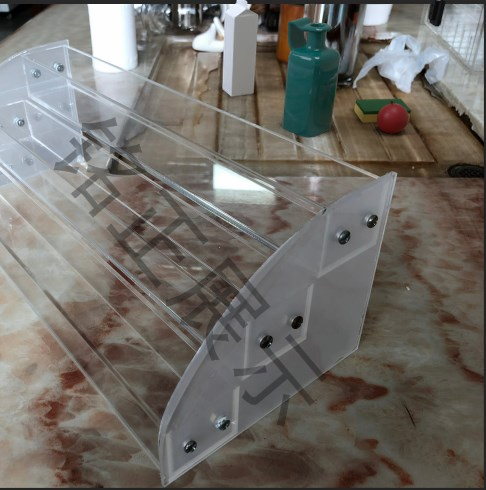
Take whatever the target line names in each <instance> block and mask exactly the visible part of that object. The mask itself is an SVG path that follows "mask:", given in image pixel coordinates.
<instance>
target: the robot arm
mask: <svg viewBox="0 0 486 490" xmlns="http://www.w3.org/2000/svg"><path fill="white" fill-rule="evenodd" d="M445 7H446V0H430V5H429V9H428V15H427V19H428V21H429V24H431V25H432V26H434V27H435V28H436V27H437V28H438V27H441V25H442V21H443V16H444V11H445Z"/></svg>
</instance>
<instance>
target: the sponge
mask: <svg viewBox="0 0 486 490" xmlns="http://www.w3.org/2000/svg"><path fill="white" fill-rule="evenodd" d="M391 100H393V103H395V104H400V105H402V106H403V107H404V108H405V109H406V110H407V112H408V123H409V121H410V118H411V112H412V109H411V108H410V107H409V106H408V105H407V104H406V103H405V102H404V100H403V99H402V98H374V99H373V98H371V99H367V98H365V99H355V103H354V112H355V114H356V116H357V118H358V119H359V120H360V121H361V123H363V124H364V123H366V124H367V123H377V115H378V113H379V111H380V110H381V109H382V108H383V107H384V106H386V105H388V104H391V102H390V101H391Z"/></svg>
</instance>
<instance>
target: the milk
mask: <svg viewBox="0 0 486 490" xmlns="http://www.w3.org/2000/svg"><path fill="white" fill-rule="evenodd" d="M223 22H224V24H223V57H222V58H223V59H222V88H221V89H222V90H223V91H224V92H225V93H227V95H229V96H230V97H238V96H245V95H253V94H254V93H255V79H256V61H257V46H258V28H259V14H257V13H256V12H254V11H252V10H250V9H249V8H248V1H247V0H236V2H235V4H233V5H232V6H231V7H230V8H228V9H227V10H225V11H224V21H223Z"/></svg>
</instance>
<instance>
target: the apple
mask: <svg viewBox="0 0 486 490" xmlns="http://www.w3.org/2000/svg"><path fill="white" fill-rule="evenodd" d="M390 102H391V104H388V105H386V106H384V107H383V108H382V109H381V110H380V111H379V113H378V115H377V122H376V124H377V127H378V128H379V130H380V131H382V132H383V133H385V134H389V135H390V134H391V135H393V134H394V135H395V134H397V133H400V132H402V131H403V130H404V129H405V128H406V127H407V125H408V123H409V122H408V112H407V110H406V109H405V108H404V107H403V106H402V105H400V104H395V103H393V100H391V101H390Z"/></svg>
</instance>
